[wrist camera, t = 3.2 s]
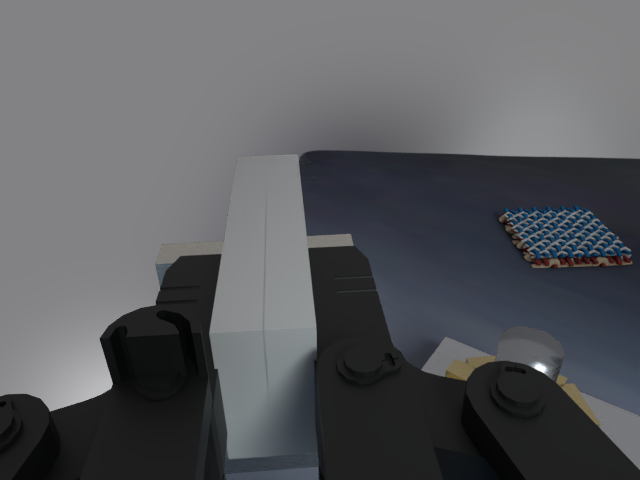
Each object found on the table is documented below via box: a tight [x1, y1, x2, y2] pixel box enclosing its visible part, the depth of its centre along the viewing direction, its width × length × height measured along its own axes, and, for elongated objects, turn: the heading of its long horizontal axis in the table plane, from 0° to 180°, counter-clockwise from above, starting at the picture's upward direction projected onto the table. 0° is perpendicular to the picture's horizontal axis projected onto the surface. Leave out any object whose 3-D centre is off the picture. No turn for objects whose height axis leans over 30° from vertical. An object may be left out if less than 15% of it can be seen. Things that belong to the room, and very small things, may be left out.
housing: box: [421, 327, 640, 470], centre depth 30 cm, size 14×14×10 cm
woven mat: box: [499, 206, 632, 268], centre depth 55 cm, size 10×11×2 cm
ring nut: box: [155, 234, 601, 474], centre depth 27 cm, size 22×8×15 cm, turn 94°
